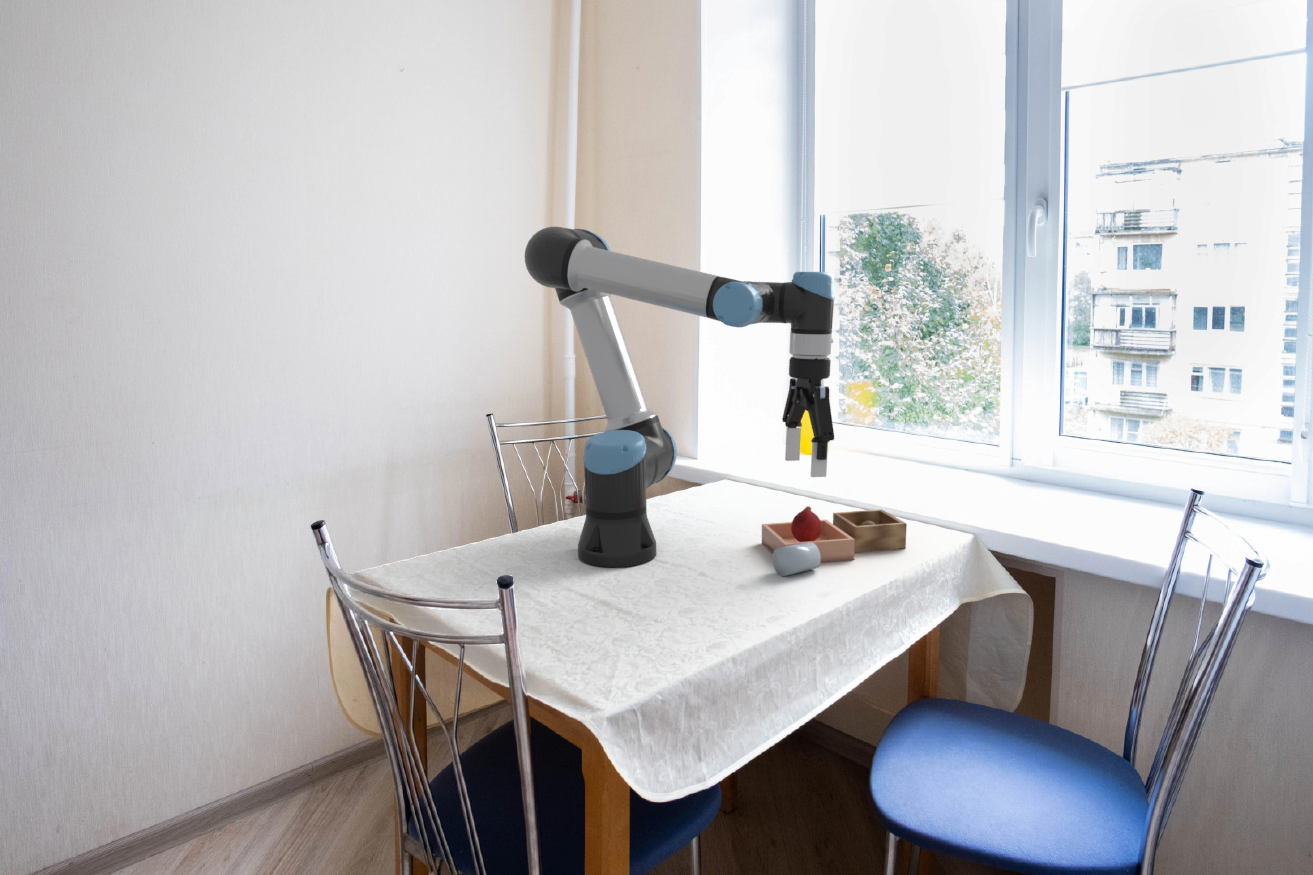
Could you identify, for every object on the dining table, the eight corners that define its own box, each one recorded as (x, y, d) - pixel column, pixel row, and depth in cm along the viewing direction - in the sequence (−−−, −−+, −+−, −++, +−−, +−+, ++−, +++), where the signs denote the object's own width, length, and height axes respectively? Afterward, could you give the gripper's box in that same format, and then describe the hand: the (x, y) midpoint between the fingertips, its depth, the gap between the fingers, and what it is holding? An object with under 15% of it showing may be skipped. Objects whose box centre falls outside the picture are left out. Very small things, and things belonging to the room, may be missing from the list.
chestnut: (863, 541, 161) (864, 524, 160) (856, 536, 165) (856, 519, 164) (880, 540, 162) (881, 522, 161) (872, 535, 165) (873, 517, 165)
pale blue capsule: (790, 579, 143) (790, 552, 142) (771, 571, 147) (772, 544, 147) (820, 572, 147) (820, 545, 146) (801, 564, 151) (802, 538, 150)
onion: (805, 554, 155) (806, 514, 152) (784, 543, 159) (785, 505, 157) (827, 546, 158) (828, 507, 155) (806, 536, 162) (807, 498, 160)
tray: (784, 565, 150) (785, 544, 150) (761, 543, 164) (761, 524, 163) (854, 559, 153) (854, 539, 152) (825, 538, 166) (826, 519, 165)
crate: (854, 552, 157) (855, 527, 156) (832, 536, 167) (833, 512, 167) (905, 548, 159) (906, 523, 158) (880, 532, 169) (881, 509, 168)
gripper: (857, 363, 140) (850, 483, 144) (804, 350, 164) (800, 453, 168) (816, 363, 139) (810, 484, 143) (769, 350, 163) (765, 454, 167)
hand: (804, 468), depth 156 cm, fingers open, 13 cm apart
